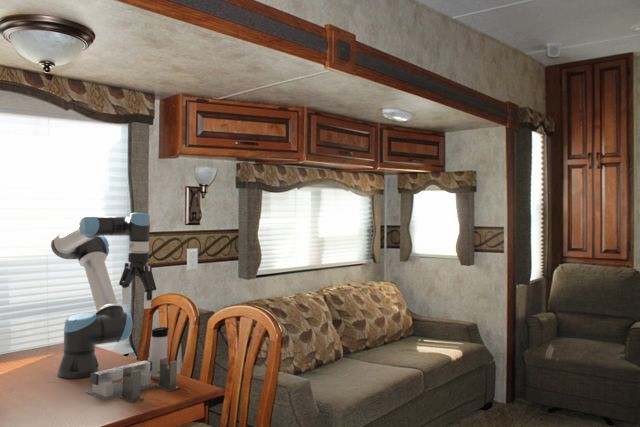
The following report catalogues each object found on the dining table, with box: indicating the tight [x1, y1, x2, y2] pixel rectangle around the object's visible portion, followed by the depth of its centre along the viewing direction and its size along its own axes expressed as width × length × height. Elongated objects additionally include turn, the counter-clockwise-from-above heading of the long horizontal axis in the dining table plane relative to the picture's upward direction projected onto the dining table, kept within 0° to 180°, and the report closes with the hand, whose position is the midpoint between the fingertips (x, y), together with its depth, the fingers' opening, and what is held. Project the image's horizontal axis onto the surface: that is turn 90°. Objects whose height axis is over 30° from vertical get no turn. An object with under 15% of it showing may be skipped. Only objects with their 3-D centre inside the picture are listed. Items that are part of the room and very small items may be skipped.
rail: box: [89, 359, 152, 385], centre depth 204 cm, size 4×24×4 cm, turn 145°
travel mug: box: [149, 326, 169, 380], centre depth 220 cm, size 6×7×20 cm
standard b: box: [154, 357, 181, 393], centre depth 207 cm, size 8×5×10 cm, turn 54°
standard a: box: [117, 366, 145, 404], centre depth 194 cm, size 8×5×10 cm, turn 54°
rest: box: [85, 372, 158, 401], centre depth 204 cm, size 12×22×5 cm, turn 144°
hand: (136, 306), depth 216 cm, fingers open, 13 cm apart
